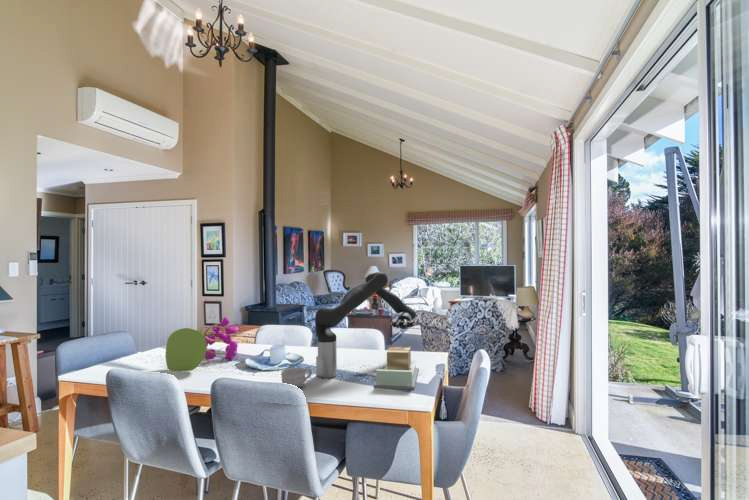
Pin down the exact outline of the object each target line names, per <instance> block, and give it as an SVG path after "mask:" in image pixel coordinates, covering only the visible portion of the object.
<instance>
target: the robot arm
mask: <svg viewBox="0 0 749 500" xmlns="http://www.w3.org/2000/svg"><path fill="white" fill-rule="evenodd" d="M388 279H389V278H388V276H387V274H386V273H385V272H382V271H377V272H373V273H369V274H367V276H366V277H365V282H364V283H362V284H359V285H357V286H355V287H352V288H351V289H350V290H349V291H347V292H346V293H345V294H344V296H343V297H342V302H341V303H340V304H338V305H337V306H335V307H333V308H330V307H329V308H328V307H321V308H319V309H317V310H316V313H315V317H314V320H315V321H314V325H315V334H316V335H315V336H316V337H317V356H316V357H315V359H316V360H315V361H316V362H315V365H316V366H315V371H316V375H315V376H316V377H319V378H321V379H330V378H335V377H337V376H338V371H337V370H338V367H337V366H338V365H337V362H338V361H337V360H338V358H337V351H338V350H337V334H335V332H333V331H332V329H331V328H335V327H336V326H338V325H339V323H341V322H342V321H343V320H344V319H345V318H346V317H347V316H348V315H349V314H350V313H352V312H353V311H354V310H355V309H357V307H359V306H361V305H362V304H363V303H365V301H367V300H368V299H369V298H370V297H371V296H373V295H374V294H376V295H377V296H379V297H380V298H381V299H382V300H384V302H385V303H387V304H388V305H389V306H390V308H391V309H392V310H393V311H394V312H395V313H396V314H399V315H398V316H397V319H396V320H395V321H394V320H390V326H391V327H393V328H396V329H402V330H406V329H408V328H409V329H410V328H413V327H415V326H416V321H415V320H414V319H416V317H417V314H416V311H415V309H413V308H412V307H410V306H408V305H406V304H405V303H404V302H403V300H401V299H400V297H399V296H397V295H396V294H394V293H393V292H392V291H389V290H388V289H386V288H385V287H386V286H387V284H388V282H389V281H388Z"/></svg>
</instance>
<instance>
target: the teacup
mask: <svg viewBox="0 0 749 500" xmlns="http://www.w3.org/2000/svg"><path fill="white" fill-rule="evenodd" d="M307 371H308V375H307V376H306V374H307ZM280 373H281V384H282V383H287V384H292V385H295V386H297V387H299V388H298V389H300V388H301V387H302V386H303V385H304V384H305V382H306V381H307V380H308V379H309V378H310V377H311V376H312V375H313V374H312V373H313V371H312V369H311V368H310V367H309V368H308V367H307V368H305V367H288V368H284V369H282V370H280Z"/></svg>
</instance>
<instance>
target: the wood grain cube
mask: <svg viewBox="0 0 749 500" xmlns="http://www.w3.org/2000/svg"><path fill="white" fill-rule="evenodd" d="M411 349H412V348H411V346H392V345H391V346H389V348H388V349H387V351H386V365H387V370H410V368H411V367H412V365H411V363H412V360H411V359H412V357H411V356H412V354H411V352H412V351H411Z"/></svg>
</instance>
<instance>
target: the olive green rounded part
mask: <svg viewBox="0 0 749 500" xmlns="http://www.w3.org/2000/svg"><path fill="white" fill-rule="evenodd" d="M230 322H231V321H230V320H229V319H228V317H227V316H224V317H223V318H221V321H220V322H218V323H214V324H213V325H211V326H209V327H208V326H204V327H201V328H200V330H196V329H193V328H189V327H186V328H185V327H184V328H180V329H177V330H175V331H173V332H172V333H171V334H170V335H169V337H168V338H167V342H166V347H165V363H166V368H167V370H168V371H173V372H175V371H178V372H180V371H181V372H191V371H194V370H195V369H196V368H197V367H199V365H200V364H202V363H203V361H204V359H208V360H213V359H214V360H215V357H216V356H217V355H224V354H225V356H224V360H226V361H228V360H233V359H234V358H235V357H236V356H237V354H238V347H239V346H238V344H239V343H238V342H237V341H234V340H233V339H232V336H231V335H233V334H236V333H237V332H238V331H239V326H237V325H235V326H228V325H229V324H230ZM226 326H227V327H226ZM202 329H206V330H204V331H205V332H204V333H202ZM210 329H212V332H213V333H211V332H210V333H207V332H208V331H209V330H210ZM221 329H223V330H224V332H225V333H224V332H220V331H221ZM216 338H218V339H216ZM218 341H222V342H223V343H224V344H226V347H225V348H224V349H225V352H220V350H222V349H223V347H222V348H220V350H218V351H217V352H216V350H215V349H208V345H209V346H212V345H213V344H215V343H216V342H218Z"/></svg>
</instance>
